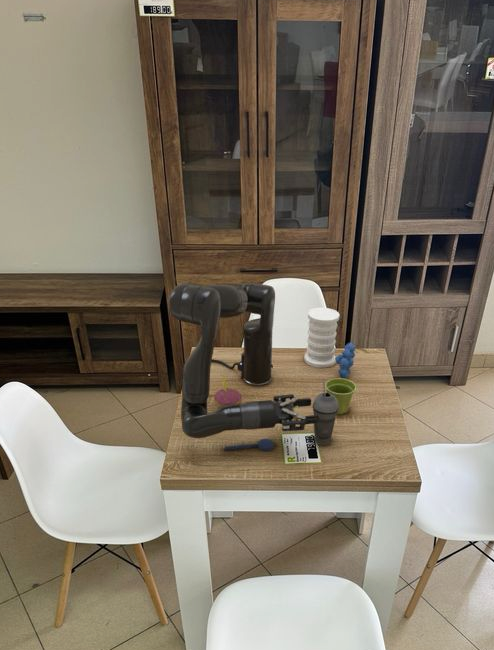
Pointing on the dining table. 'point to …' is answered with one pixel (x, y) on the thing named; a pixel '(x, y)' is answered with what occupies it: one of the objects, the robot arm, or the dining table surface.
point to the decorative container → (321, 337)
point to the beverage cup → (324, 416)
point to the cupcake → (227, 396)
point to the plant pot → (341, 392)
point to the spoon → (255, 445)
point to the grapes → (346, 360)
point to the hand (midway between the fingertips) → (314, 410)
